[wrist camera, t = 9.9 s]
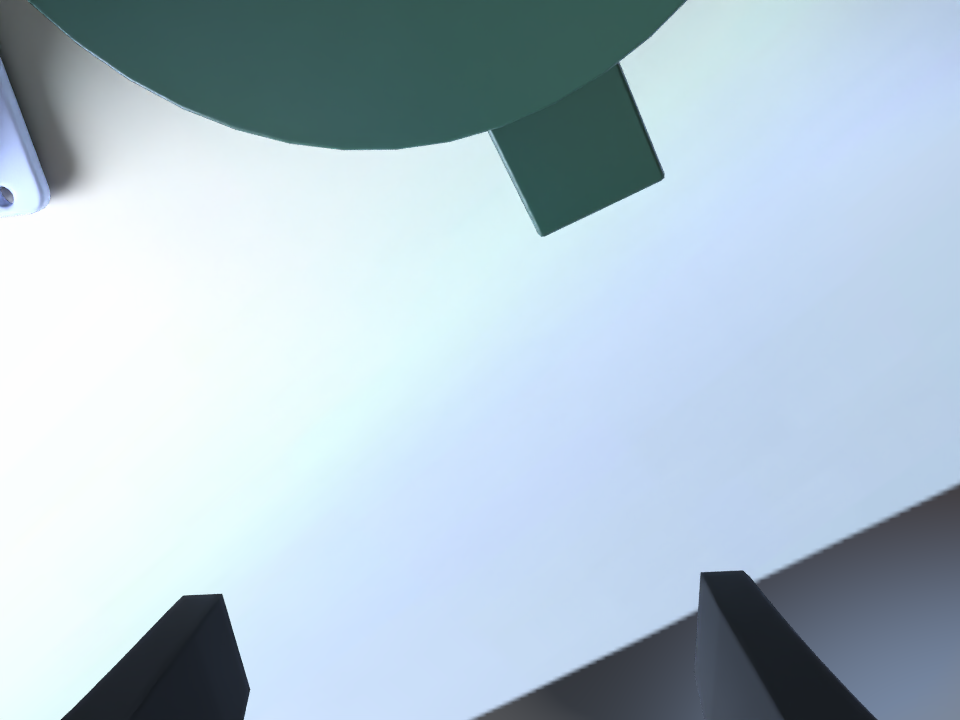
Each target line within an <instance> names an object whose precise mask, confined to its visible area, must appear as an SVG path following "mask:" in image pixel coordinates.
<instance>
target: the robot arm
mask: <svg viewBox="0 0 960 720" xmlns="http://www.w3.org/2000/svg"><path fill="white" fill-rule="evenodd" d="M2 186H4V187H6V188H7V189H9V190H10V191H11V193H12V194H13V196H14V202H13V203H11V202H9V201H8V200H6V199H5V198H4V196H3V195H2V192H1V187H2ZM50 197H51V195H50V189H49V186H48V183H47V181H46V178H45V175H44V173H43V170H42V167H41V165H40V162H39V159H38V157H37V154H36V151H35V149H34V146H33V143H32V140H31V138H30V135H29V132H28V130H27V127H26V124H25V122H24V119H23V116H22V114H21V111H20V108H19V106H18V103H17V100H16V97H15V95H14V92H13V89H12V87H11V84H10V81H9V79H8V76H7V73H6V71H5V68H4V65H3V63H2V60H1V57H0V217H8V216H16V215H24V214H32V213H35V212H37V211H40V210H41V209H43V208H45V207H46V206H47V205H48V204H49V201H50ZM694 673H695V678H696V683H697V688H698V693H699V698H700V702H701V707H702V712H703V716H704V720H877V719H876V718H875V717H874V716H873V715H872V714H871V713H870V712H869V711H868V710H867V709H866V708H865V707H864V706H863V705H862V704H861V703H860V702H859V701H858V700H857V699H856V697H855V696H854V695H853V694H852V693H851V692H850V691H849V690H848V689H847V688H846V687H845V686H844V685H843V684H842V683H841V682H840V680H839V679H838V678H836V676H835V675H834V674H833V673H832V672H831V671H830V670H829V669H828V668H827V667H826V666H825V664H823V662H822V661H821V660H820V659H819V658H818V657H817V656H816V655H815V653H814V652H813V651H812V650H811V649H810V648H809V647H808V646H807V645H806V643H805V642H804V641H803V640H802V639H801V638H800V637H799V636H798V634H797V633H796V632H795V631H794V630H793V628H792V627H791V626H790V625H789V624H788V623H787V621H786V620H785V619H784V618H783V617H782V616H781V614H780V613H779V612H778V611H777V610H776V608H775V607H774V606H773V605H772V604H771V602H770V601H769V600H768V599H767V597H766V596H765V595H764V594H763V593H762V591H761V590H760V589H759V588H758V586H757V585H756V584H755V583H754V581H753V580H752V579H751V578H750V576H748V575H747V574H746V573H745V572H744V571H721V572H701V576H700V591H699V607H698V622H697V637H696V653H695V669H694ZM249 692H250V687H249V684H248V680H247V677H246V674H245V670H244V667H243V663H242V660H241V657H240V653H239V650H238V646H237V643H236V640H235V636H234V633H233V629H232V626H231V622H230V619H229V616H228V612H227V609H226V605H225V602H224V599H223V595H222V594H208V595H186V596H182V597H181V598H180V599H179V600H178V601H177V602H176V603H175V604H174V605H173V606H172V607H171V608H170V609H169V610H168V611H167V612H166V613H165V614H164V615H163V616H162V618H161V619H160V620H159V621H158V622H157V623H156V624H155V625H154V626H153V627H152V628H151V629H150V630H149V631H148V632H147V633H146V634H145V635H144V636H143V637H142V638H141V639H140V640H139V641H138V642H137V644H136V645H135V646H134V647H133V648H132V649H131V650H130V651H129V652H128V653H127V654H126V655H125V656H124V657H123V658H122V659H121V660H120V661H119V662H118V663H117V664H116V665H115V666H114V667H113V668H112V669H111V670H110V671H109V672H108V673H107V674H106V675H105V676H104V677H103V678H102V679H101V680H100V681H99V682H98V683H97V684H96V686H95V687H94V688H93V689H92V690H91V691H90V692H89V693H88V694H87V695H86V696H85V697H84V698H83V699H82V700H81V701H80V702H79V703H78V704H77V705H76V706H75V707H74V708H73V709H72V710H71V711H69V712H68V713H67V714H66V715H65V716H64V717H63V718H62V719H61V720H244V716H245V711H246V706H247V702H248V697H249Z"/></svg>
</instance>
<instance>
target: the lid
mask: <svg viewBox="0 0 960 720" xmlns="http://www.w3.org/2000/svg"><path fill="white" fill-rule="evenodd" d="M27 1H28V2H29V3H30V4H32V5H33V6H34V7H35V8H36V9H37V10H39V11H40V12H41V13H42V14H43V15H44V16H45V17H47V18H48V19H49V20H50V21H51V22H52V23H54V24H55V25H56V26H57V27H58V28H59V29H61V30H62V31H63V32H64V33H65V34H66V35H68V36H69V37H70V38H71V39H72V40H73V41H74V42H76V43H77V44H78V45H79V46H81V47H82V48H84V49H85V50H87V51H88V52H89V53H91V54H92V55H94V56H95V57H97V58H98V59H100V60H101V61H102V62H104V63H105V64H107V65H108V66H110V67H111V68H113V69H114V70H115V71H117V72H118V73H120V74H121V75H123V76H124V77H126V78H127V79H129V80H130V81H132V82H134V83H135V84H137V85H139V86H141V87H143V88H145V89H147V90H149V91H150V92H152V93H154V94H156V95H158V96H160V97H162V98H163V99H165V100H167V101H169V102H171V103H173V104H175V105H177V106H178V107H180V108H182V109H184V110H187V111H189V112H192V113H195V114H197V115H200V116H202V117H205V118H207V119H210V120H212V121H215V122H218V123H220V124H223V125H225V126H228V127H230V128H233V129H235V130H239V131H243V132H247V133H251V134H254V135H258V136H262V137H266V138H270V139H274V140H278V141H282V142H286V143H290V144H297V145H306V146H314V147H322V148H330V149H339V150H398V149H404V148H411V147H418V146H425V145H432V144H438V143H445V142H451V141H455V140H458V139H462V138H465V137H469V136H472V135H476V134H479V133H482V132H486V131H489V130H493V129H496V128H500V127H503V126H505V125H508V124H510V123H512V122H514V121H517V120H519V119H521V118H524V117H526V116H528V115H530V114H533V113H535V112H537V111H540V110H542V109H544V108H546V107H549V106H551V105H553V104H555V103H557V102H558V101H560V100H562V99H563V98H565V97H567V96H568V95H570V94H572V93H573V92H575V91H576V90H578V89H580V88H581V87H583V86H585V85H586V84H588V83H590V82H591V81H593V80H595V79H596V78H598V77H600V76H601V75H603V74H604V73H606V72H607V71H608V70H609V69H611V68H612V67H613V66H614V65H616V64H617V63H618V62H619V61H621V60H622V59H623V58H625V57H626V56H627V55H628V54H630V53H631V52H632V51H633V50H635V49H636V48H637V47H638V46H640V45H641V44H642V43H644V42H645V41H646V40H647V39H649V38H650V37H651V36H652V35H653V34H654V33H655V32H656V31H657V30H658V29H659V28H660V27H661V26H662V25H663V24H664V23H665V22H666V21H667V20H668V19H669V18H670V17H671V16H672V15H673V14H674V13H675V12H676V11H677V10H678V9H679V8H680V7H681V6H682V5H683V4H684V3H685V2H686V1H687V0H27Z"/></svg>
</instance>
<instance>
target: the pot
mask: <svg viewBox="0 0 960 720" xmlns="http://www.w3.org/2000/svg"><path fill="white" fill-rule="evenodd" d="M488 133H489V135H490V137H491V139H492V141H493V143H494V145H495V147H496V149H497V151H498V153H499V155H500V157H501V159H502V161H503V163H504V165H505V167H506V169H507V172H508V174H509V176H510V178H511V180H512V182H513V184H514V186H515V188H516V190H517V192H518V194H519V196H520V198H521V200H522V202H523V204H524V206H525V208H526V210H527V212H528V214H529V216H530V218H531V220H532V222H533V224H534V226H535V228H536V230H537V232H538V234H539V235H540V236H541V237H543V236H547V235H549V234H551V233H553V232H555V231H557V230H559V229H561V228H563V227H565V226H568V225H570V224H572V223H574V222H576V221H578V220H580V219H582V218H584V217H586V216H588V215H591V214H593V213H595V212H597V211H599V210H601V209H603V208H605V207H607V206H609V205H611V204H613V203H616V202H618V201H620V200H622V199H624V198H626V197H628V196H630V195H632V194H634V193H636V192H639V191H641V190H643V189H645V188H647V187H649V186H651V185H653V184H655V183H657V182H659V181H661V180H662V179H663V178H664V171H663V169H662V166H661V164H660V162H659V159H658V157H657V154H656V152H655V149H654V147H653V144H652V142H651V139H650V137H649V134H648V132H647V129H646V127H645V125H644V122H643V120H642V117H641V115H640V112H639V110H638V107H637V105H636V102H635V100H634V97H633V95H632V92H631V90H630V87H629V85H628V83H627V80H626V78H625V75H624V73H623V70H622V68H621V65H620V63H619V62H618V63H617V64H616V65H614V66H613V67H612V68H611V69H609V70H608V71H607V72H606V73H604V74H603V75H601V76H600V77H598V78H596V79H595V80H593V81H591V82H590V83H588V84H586V85H585V86H583V87H581V88H580V89H578V90H576V91H575V92H573V93H572V94H570V95H568V96H567V97H565V98H563V99H562V100H560V101H558V102H557V103H555V104H553V105H551V106H549V107H546V108H544V109H542V110H540V111H537V112H535V113H533V114H530V115H528V116H526V117H524V118H521V119H519V120H517V121H514V122H512V123H510V124H508V125H505V126H503V127H500V128H496V129H493V130H489V131H488Z"/></svg>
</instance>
